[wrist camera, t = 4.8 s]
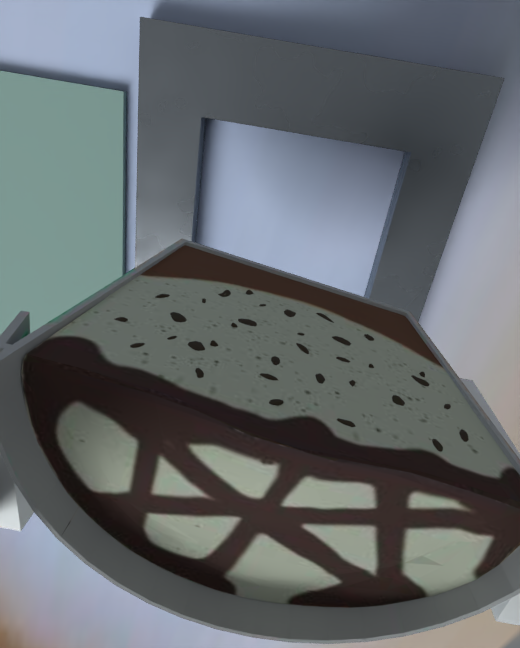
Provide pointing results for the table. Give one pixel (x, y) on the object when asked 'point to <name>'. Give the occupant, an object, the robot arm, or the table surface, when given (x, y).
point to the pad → (59, 194)
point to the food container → (261, 453)
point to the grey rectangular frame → (310, 119)
